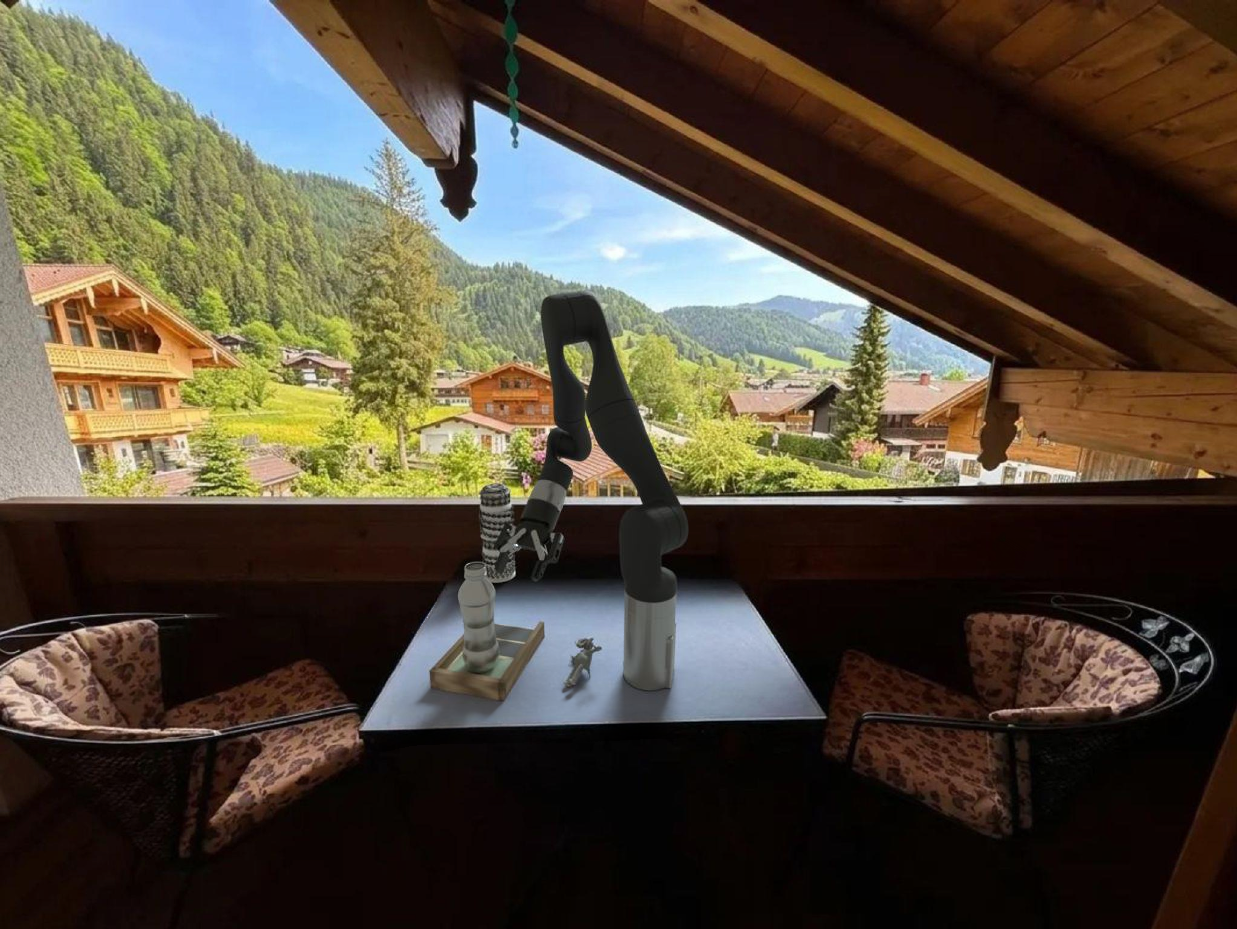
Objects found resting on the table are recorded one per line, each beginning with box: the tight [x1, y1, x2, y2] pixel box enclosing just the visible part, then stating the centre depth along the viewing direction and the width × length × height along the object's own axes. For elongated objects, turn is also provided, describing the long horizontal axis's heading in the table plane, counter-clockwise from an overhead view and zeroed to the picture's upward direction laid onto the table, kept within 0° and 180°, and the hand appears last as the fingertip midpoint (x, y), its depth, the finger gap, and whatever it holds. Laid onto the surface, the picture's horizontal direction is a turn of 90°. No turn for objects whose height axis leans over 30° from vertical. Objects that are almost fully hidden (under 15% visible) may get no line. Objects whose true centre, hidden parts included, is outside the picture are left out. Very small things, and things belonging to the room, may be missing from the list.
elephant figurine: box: [563, 637, 603, 688], centre depth 85 cm, size 10×6×9 cm
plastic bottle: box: [457, 561, 500, 673], centre depth 83 cm, size 6×7×20 cm
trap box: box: [428, 621, 546, 702], centre depth 89 cm, size 14×19×4 cm
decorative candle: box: [476, 482, 516, 584], centre depth 121 cm, size 9×9×25 cm
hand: (516, 576), depth 92 cm, fingers open, 8 cm apart
